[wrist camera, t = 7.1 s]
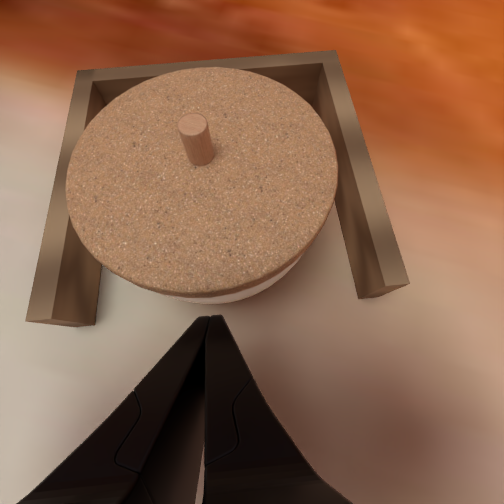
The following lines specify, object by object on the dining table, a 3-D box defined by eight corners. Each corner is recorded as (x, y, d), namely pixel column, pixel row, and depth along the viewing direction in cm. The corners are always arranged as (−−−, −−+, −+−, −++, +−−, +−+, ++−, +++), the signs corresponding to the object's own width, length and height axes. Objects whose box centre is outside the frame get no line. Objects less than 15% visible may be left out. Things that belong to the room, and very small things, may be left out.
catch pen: (378, 297, 16) (410, 283, 12) (74, 327, 15) (25, 321, 12) (323, 95, 22) (335, 50, 19) (104, 113, 21) (77, 70, 18)
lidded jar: (188, 154, 20) (135, 0, 11) (323, 198, 18) (386, 59, 10) (113, 281, 16) (-51, 204, 8) (271, 347, 15) (294, 346, 6)
